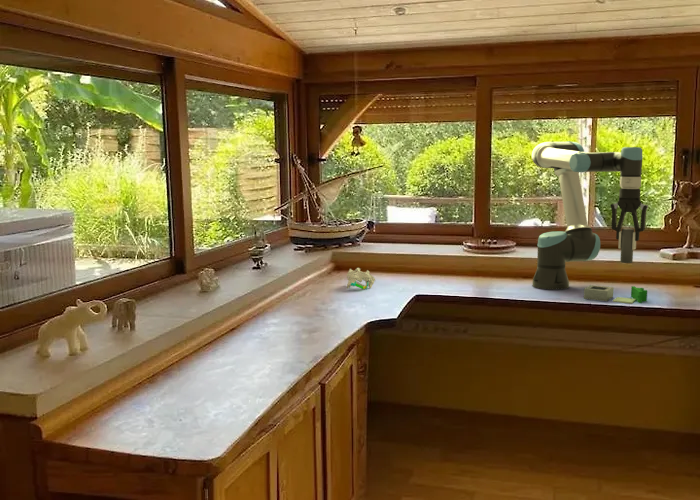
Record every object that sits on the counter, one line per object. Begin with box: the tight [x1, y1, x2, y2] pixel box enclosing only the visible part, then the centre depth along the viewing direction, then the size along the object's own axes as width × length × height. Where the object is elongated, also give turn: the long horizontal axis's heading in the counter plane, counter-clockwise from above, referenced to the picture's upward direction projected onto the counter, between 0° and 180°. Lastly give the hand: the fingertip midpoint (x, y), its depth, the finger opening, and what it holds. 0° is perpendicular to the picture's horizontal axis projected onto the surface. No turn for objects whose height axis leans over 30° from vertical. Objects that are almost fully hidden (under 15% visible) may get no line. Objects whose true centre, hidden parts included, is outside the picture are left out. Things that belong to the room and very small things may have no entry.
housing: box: [583, 284, 614, 302], centre depth 281 cm, size 9×9×4 cm
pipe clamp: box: [630, 285, 648, 304], centre depth 277 cm, size 11×4×5 cm, turn 173°
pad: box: [612, 296, 637, 305], centre depth 275 cm, size 7×7×1 cm
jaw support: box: [346, 267, 376, 290], centre depth 303 cm, size 12×9×10 cm
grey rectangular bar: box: [619, 228, 635, 264], centre depth 272 cm, size 4×4×13 cm
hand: (627, 248), depth 272 cm, fingers closed on grey rectangular bar, 4 cm apart
